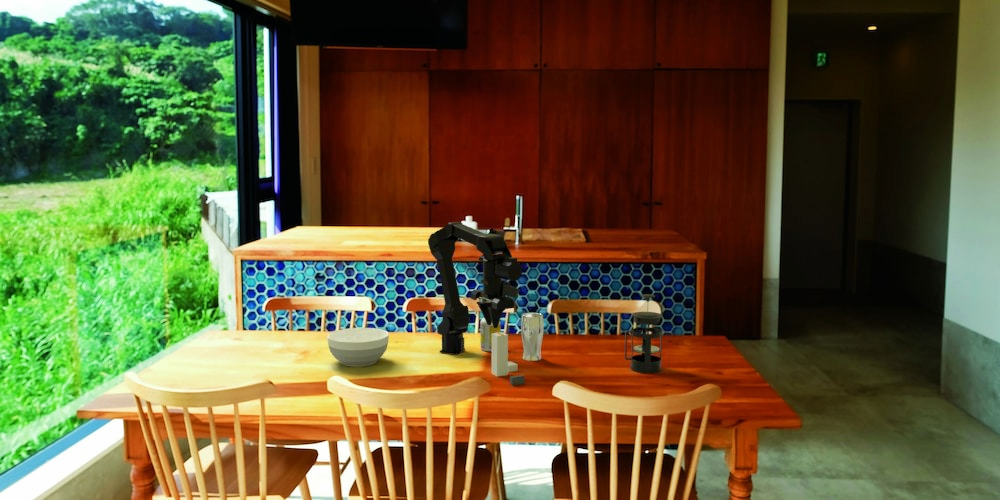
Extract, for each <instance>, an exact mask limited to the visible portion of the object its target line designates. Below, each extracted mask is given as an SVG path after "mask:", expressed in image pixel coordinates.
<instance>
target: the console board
mask: <svg viewBox="0 0 1000 500" xmlns="http://www.w3.org/2000/svg"><path fill="white" fill-rule="evenodd" d="M510 372H511V373H512V372H518V363H515V362H514V361H511V360H510V361H509V360H508V373H510ZM509 385H510V386H512V387H513V386H517V385H518V386H519V385H525V375H524V374H519V375H512V376H511V375H510V376H509Z"/></svg>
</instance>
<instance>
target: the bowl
mask: <svg viewBox="0 0 1000 500" xmlns="http://www.w3.org/2000/svg"><path fill="white" fill-rule="evenodd" d="M389 334H390V333H389V332H388V331H386V330H385V329H381V328H376V327H375V328H374V327H350V328H343V329H338V330H335V331H332V332H330V333H329V334H327V337H326V338H327V345H328V349H329V351H330V353H331V354H332V356H333V357H334V358H335V360H337V361H338V362H340V363H341V364H342V365H343V366H347V367H353V368H354V367H356V368H357V367H367V365H368V366H372V365H374V364H376V363H377V361H378V360H379V359H380V358H382V357H383V355H384V354H385V352H386V351H387V348H388V344H389V338H390V337H389Z"/></svg>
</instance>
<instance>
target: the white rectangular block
mask: <svg viewBox="0 0 1000 500" xmlns="http://www.w3.org/2000/svg"><path fill="white" fill-rule="evenodd" d="M508 351H509V335H508V334H507V333H504V332H502V331H501V332H500V333H499V332H496V333H492V351H491V374H492V375H493V376H495V377H504V376H508V375H509V372H508V362H509V360H508V359H509V352H508Z"/></svg>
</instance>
